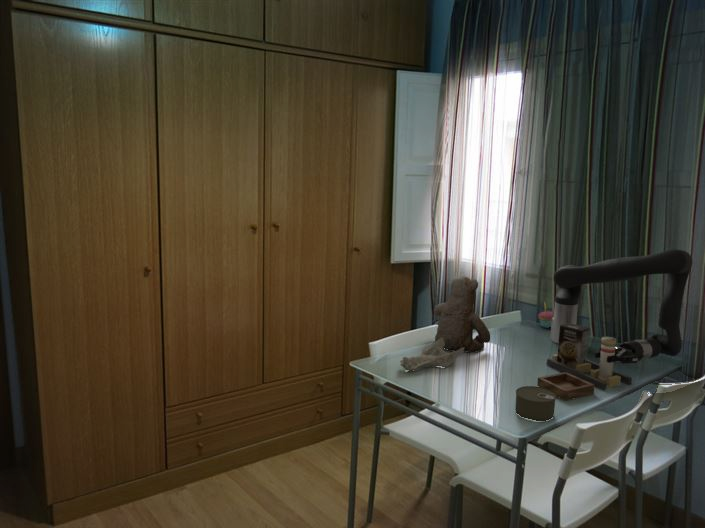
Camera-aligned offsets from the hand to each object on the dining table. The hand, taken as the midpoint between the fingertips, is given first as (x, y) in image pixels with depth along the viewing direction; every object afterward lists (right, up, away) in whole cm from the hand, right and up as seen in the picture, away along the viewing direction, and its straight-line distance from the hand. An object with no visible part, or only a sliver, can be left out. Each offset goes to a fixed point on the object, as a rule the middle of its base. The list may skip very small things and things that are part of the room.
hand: (602, 357), depth 213 cm
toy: (-43, -2, +39) cm, 58 cm away
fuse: (+2, -9, +3) cm, 10 cm away
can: (-31, -14, -24) cm, 42 cm away
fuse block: (-2, -8, +11) cm, 13 cm away
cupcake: (+3, +4, +69) cm, 69 cm away
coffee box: (-5, -7, +17) cm, 19 cm away
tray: (-15, -11, -5) cm, 19 cm away
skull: (-59, -6, +16) cm, 61 cm away
